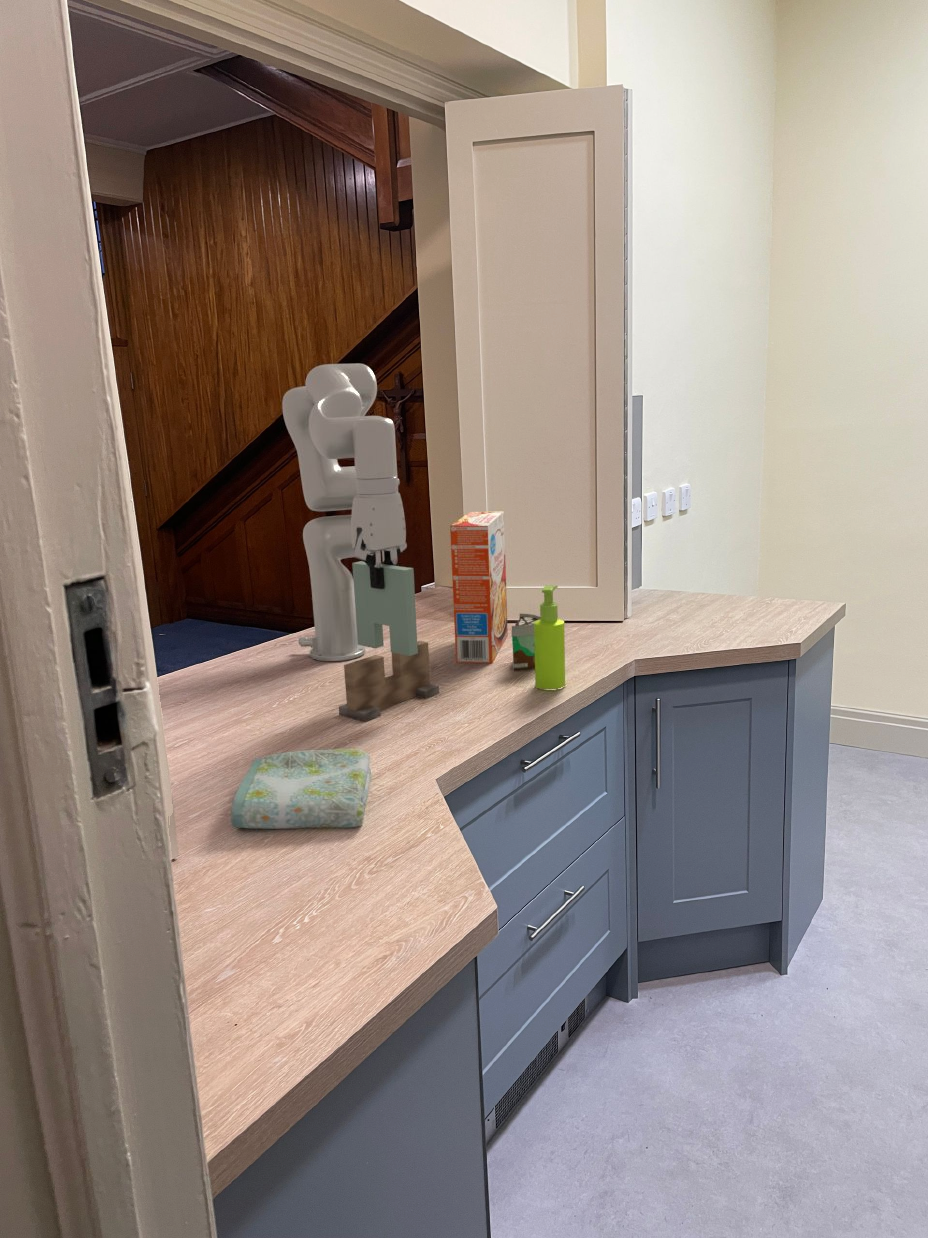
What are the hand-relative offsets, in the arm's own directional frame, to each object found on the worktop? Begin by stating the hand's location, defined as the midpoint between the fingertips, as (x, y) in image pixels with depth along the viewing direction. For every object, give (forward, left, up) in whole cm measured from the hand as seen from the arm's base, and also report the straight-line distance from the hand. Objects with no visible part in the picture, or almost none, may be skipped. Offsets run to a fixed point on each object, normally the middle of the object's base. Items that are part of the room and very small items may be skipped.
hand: (383, 586), depth 175 cm
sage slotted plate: (0, 0, -12) cm, 12 cm away
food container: (+25, +26, -23) cm, 43 cm away
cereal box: (+13, +39, -23) cm, 47 cm away
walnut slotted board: (0, 0, -23) cm, 23 cm away
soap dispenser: (+30, +12, -23) cm, 40 cm away
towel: (-3, -44, -24) cm, 50 cm away
